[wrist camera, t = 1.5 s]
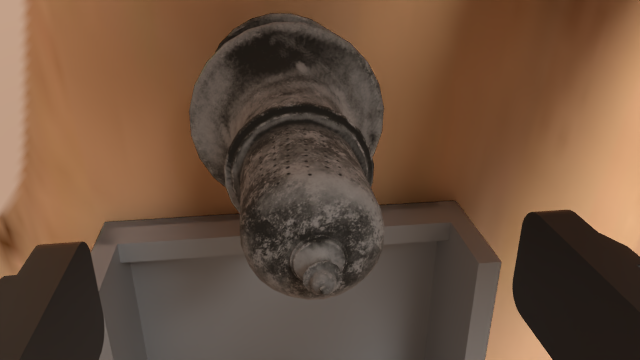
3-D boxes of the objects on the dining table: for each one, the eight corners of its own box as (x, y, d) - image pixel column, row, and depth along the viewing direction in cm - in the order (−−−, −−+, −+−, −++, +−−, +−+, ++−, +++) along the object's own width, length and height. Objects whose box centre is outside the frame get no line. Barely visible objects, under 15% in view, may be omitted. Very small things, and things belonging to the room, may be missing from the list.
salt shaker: (295, 190, 22) (347, 461, 11) (165, 104, 20) (69, 335, 9) (394, 73, 20) (568, 253, 9) (264, -34, 18) (294, 40, 7)
